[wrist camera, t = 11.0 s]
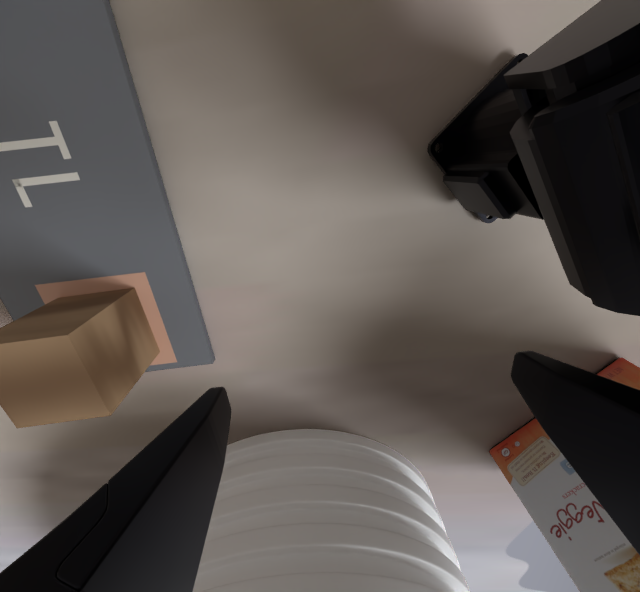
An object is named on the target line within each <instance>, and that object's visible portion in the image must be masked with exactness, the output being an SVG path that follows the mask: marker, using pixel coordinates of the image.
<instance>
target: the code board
mask: <svg viewBox="0 0 640 592" xmlns="http://www.w3.org/2000/svg"><path fill="white" fill-rule="evenodd" d="M128 288H135V290H136V292H137V295H138V297H139V300H140V302H141V305H142V307H143V310H144V312H145V315H146V317H147V320H148V322H149V325H150V327H151V330H152V332H153V335H154V337H155V340H156V342H157V345H158V347H159V350H160V353H159V354H158V355H157V357H156V358H155V359H154V360H153V362H152V363H151V364H150V366H149V367H148V368H147V369H146V371H145V372H147V371H156V370H164V369H172V368H180V367H188V366H197V365H205V364H213V362H214V360H215V357H214V353H213V350H212V347H211V343H210V340H209V336H208V333H207V330H206V326H205V323H204V320H203V316H202V313H201V309H200V306H199V303H198V299H197V296H196V293H195V289H194V286H193V282H192V279H191V276H190V272H189V269H188V266H187V262H186V259H185V255H184V252H183V249H182V245H181V242H180V239H179V235H178V232H177V228H176V225H175V222H174V218H173V215H172V212H171V208H170V205H169V201H168V198H167V195H166V191H165V188H164V185H163V181H162V178H161V174H160V171H159V168H158V164H157V161H156V158H155V154H154V151H153V147H152V144H151V141H150V137H149V134H148V131H147V127H146V124H145V120H144V117H143V114H142V110H141V107H140V104H139V100H138V97H137V94H136V90H135V87H134V83H133V80H132V77H131V73H130V70H129V67H128V63H127V60H126V56H125V53H124V50H123V46H122V43H121V40H120V36H119V33H118V29H117V26H116V23H115V19H114V16H113V13H112V9H111V6H110V2H109V0H0V298H1V300H2V302H3V303H4V305H5V307H6V308H7V310H8V312H9V314H10V315H11V317H12V319H13V320H14V321H15V320H17V319H19V318H21V317H23V316H24V315H26V314H28V313H30V312H32V311H34V310H36V309H38V308H40V307H41V306H43V305H45V304H47V303H49V302H51V301H53V300H55V299H57V298H60V297H68V296H75V295H83V294H90V293H98V292H105V291H113V290H121V289H128Z"/></svg>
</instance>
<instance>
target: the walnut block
mask: <svg viewBox="0 0 640 592" xmlns="http://www.w3.org/2000/svg"><path fill="white" fill-rule="evenodd" d="M159 353H160V350H159V347H158V345H157V342H156V340H155V337H154V335H153V332H152V330H151V327H150V325H149V322H148V320H147V317H146V315H145V312H144V310H143V307H142V305H141V302H140V300H139V297H138V295H137V292H136V290H135V288H128V289H121V290H113V291H105V292H98V293H90V294H83V295H75V296H68V297H60V298H57V299H55V300H53V301H51V302H49V303H47V304H45V305H43V306H41V307H40V308H38V309H36V310H34V311H32V312H30V313H28V314H26V315H24V316H23V317H21V318H19V319H17V320H15V321H13V322H11V323H9V324H7V325H5V326H4V327H2V328H0V405H1V407H2V408H3V409H4V411H5V412H6V414H7V415H8V416H9V418H10V419H11V421H12V422H13V423H14V425H15V426H16V428H22V427H30V426H37V425H45V424H52V423H59V422H67V421H74V420H82V419H89V418H96V417H104V416H111V415H112V413H113V412H114V411H115V409H116V408H117V407H118V406H119V404H120V403H121V402H122V400H123V399H124V398H125V397H126V395H127V394H128V393H129V391H130V390H131V389H132V388H133V386H134V385H135V384H136V382H137V381H138V380H139V378H140V377H141V376H142V375H143V373H144V372H145V371H146V369H147V368H148V367H149V366H150V364H151V363H152V362H153V360H154V359H155V358H156V357H157V355H158V354H159Z"/></svg>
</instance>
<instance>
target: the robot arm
mask: <svg viewBox="0 0 640 592" xmlns="http://www.w3.org/2000/svg"><path fill="white" fill-rule="evenodd" d="M517 62H519V63H518V64H517ZM516 64H517V65H516ZM437 143H438V144H439V145H440V150H439V152H436V151H435V145H436V144H437ZM428 153H429V155H430V156H431V158H432V159H433V160H434V162H435V163H436V164H437V165H438V167H439V168H440V169H441V171H442V172H443V173H444V174H445V175H444V177H443V182H444V183H445V184H446V186H447V187H448V188H449V189H450V191H451V192H452V193H453V194H454V196H455V197H456V198H457V199H458V201H459V202H460V203H461V205H462V206H463V207H464V208H465V209H466V210H469V211H473V212H474V213H475V214H476V215H477V217H478V218H479V219H480V220H481V221H482V222H485V223H492V222H493V221H495V220H496V219H497V218H502V219H510V218H511V217H512V216H514V215H515V214H519V215H524V216H529V217H533V218H538V219H544V221H545V223H546V226H547V228H548V231H549V233H550V236H551V238H552V241H553V243H554V246H555V248H556V251H557V253H558V256H559V259H560V261H561V264H562V266H563V269H564V271H565V274H566V276H567V278H568V281H569V283H570V285H572V286H573V287H574V288H576V289H577V290H578V291H580V292H581V293H582V294H584V295H585V296H587V297H589V298H591V300H592V302H593V304H594V305H595V306H598V307H601V308H604V309H607V310H611V311H614V312H617V313H623V314H630V315H637V316H640V0H601V1H600V2H598V3H597V4H596V5H595V6H593V7H592V8H591V9H589V10H588V11H587V12H585V13H584V14H583V15H581V16H580V17H579V18H578V19H576V20H575V21H574V22H572V23H571V24H570V25H568V26H567V27H566V28H564V29H563V30H562V31H560V32H559V33H558V34H557V35H555V36H554V37H553V38H551V39H550V40H549V41H547V42H546V43H545V44H543V45H542V46H541V47H539V48H538V49H537V50H536V51H534V52H533V53H532V54H530V55H529V56H528V55H527V54H524V53H522V54H519V55H517V56H515V57H514V58H512V59H511V60H510V61H509V62H508V63H507V64H506V65H505V66H504V67H503V68H502V69H501V70H500V71H499V72H498V73H497V74H496V75H495V76H494V77H493V78H492V79H491V80H490V82H489V83H488V84H487V85H486V86H485V87H484V88H483V89H482V90H481V91H480V92H479V93H478V94H477V95H476V96H475V97H474V98H473V99H472V100H471V101H470V102H469V103H468V104H467V105H466V106H465V107H464V108H463V109H462V110H461V111H460V112H459V113H458V114H457V115H456V116H455V117H454V118H453V119H452V120H451V121H450V123H449V124H448V125H447V126H446V127H445V128H444V129H443V130H442V131H441V132H440V133H439V134H438V135H437V136H436V137H435V138H434V139H433V140H432V141H431V142H430V144H429V146H428ZM486 215H490V216H489V217H488V218H486ZM511 378H512V381H513V383H514V384H515V386H516V387H517V389H518V391H519V392H520V394H521V395H522V397H523V399H524V400H525V402H526V403H527V405H528V407H529V408H530V410H531V411H532V413H533V415H534V416H535V418H536V419H537V421H538V422H539V424H540V425H541V427H542V428H543V430H544V431H545V432H546V434H547V435H548V436H549V438H550V439H551V440H552V441H553V443H554V444H555V445H556V447H557V448H558V449H559V451H560V452H561V453H562V455H563V456H564V457H565V459H566V460H567V461H568V462H569V464H570V465H571V466H572V468H573V469H574V470H575V472H576V473H577V474H578V476H579V477H580V478H581V479H582V481H583V482H584V483H585V485H586V486H587V487H588V489H589V490H590V491H591V493H592V494H593V495H594V496H595V498H596V499H597V500H598V502H599V503H600V504H601V506H602V507H603V508H604V510H605V511H606V512H607V513H608V515H609V516H610V517H611V519H612V520H613V521H614V523H615V524H616V525H617V527H618V528H619V529H620V530H621V532H622V533H623V534H624V536H625V537H626V538H627V540H628V541H629V542H630V544H631V545H632V546H633V547H634V549H635V550H636V551H637V553H638V554H639V555H640V390H638V389H635V388H632V387H630V386H627V385H624V384H621V383H619V382H616V381H613V380H610V379H608V378H605V377H602V376H599V375H597V374H594V373H591V372H588V371H586V370H583V369H580V368H577V367H575V366H572V365H569V364H566V363H564V362H561V361H558V360H555V359H553V358H550V357H547V356H544V355H541V354H539V353H536V352H533V351H523V352H518V353H516V354H515V356H514V361H513V366H512V371H511ZM230 419H231V406H230V403H229V399H228V396H227V392H226V390H225V388H224V387H216V388H210V389H209V390H208V391H207V392H206V393H204V394H203V395H202V396H201V397H200V398H199V399H198V400H197V401H196V402H195V403H193V404H192V405H191V406H190V407H189V408H188V409H187V410H186V411H185V412H184V413H182V414H181V415H180V416H179V417H178V418H177V419H176V420H175V421H174V422H173V423H171V424H170V425H169V426H168V427H167V428H166V429H165V430H164V431H163V432H162V433H161V434H159V435H158V436H157V437H156V438H155V439H154V440H153V441H152V442H151V443H150V444H148V445H147V446H146V447H145V448H144V449H143V450H142V451H141V452H140V453H139V454H137V455H136V456H135V457H134V458H133V459H132V460H131V461H130V462H129V463H128V464H126V465H125V466H124V467H123V468H122V469H121V470H120V471H119V472H118V473H117V474H115V475H114V476H113V477H112V478H111V479H110V480H109V481H108V484H107V483H106V484H104V485H103V486H102V487H101V488H100V489H99V490H98V491H97V492H96V493H94V494H93V495H92V496H91V497H90V498H89V499H88V500H87V501H86V502H84V503H83V504H82V505H81V506H80V507H79V508H78V509H76V510H75V511H74V512H73V513H72V514H71V515H70V516H69V517H67V518H66V519H65V520H64V521H63V522H61V523H60V524H59V525H58V526H57V527H56V528H54V529H53V530H52V531H51V532H50V533H48V534H47V535H46V536H45V537H44V538H42V539H41V540H40V541H39V542H38V543H36V544H35V545H34V546H33V547H31V548H30V549H29V550H28V551H27V552H25V553H24V554H23V555H22V556H20V557H19V558H18V559H17V560H16V561H14V562H13V563H12V564H11V565H9V566H8V567H7V568H6V569H5V570H3V571H2V572H1V573H0V592H193V588H194V584H195V580H196V576H197V572H198V568H199V564H200V560H201V556H202V552H203V548H204V544H205V540H206V536H207V532H208V528H209V524H210V520H211V516H212V512H213V508H214V504H215V500H216V496H217V492H218V488H219V484H220V480H221V476H222V472H223V467H224V462H225V456H226V449H227V441H228V434H229V427H230Z"/></svg>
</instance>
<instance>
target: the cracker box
mask: <svg viewBox="0 0 640 592" xmlns="http://www.w3.org/2000/svg"><path fill="white" fill-rule="evenodd" d="M597 375H599V376H602V377H605V378H608V379H610V380H613V381H616V382H619V383H621V384H624V385H627V386H630V387H632V388H635V389H638V390H640V368H639V367H637V366H635V365H634V364H632V363H630V362H629V361H627V360H625V359H624V358H618V359H617V360H616V361H614V362H613V363H612V364H610V365H609V366H608V367H606V368H605V369H603V370H602V371H601V372H599V373H598V374H597ZM489 452H490V454H491V455H492V457H493V459H494V460H495V462H496V463H497V465H498V466H499V468H500V469H501V471H502V473H503V474H504V476H505V478H506V479H507V481H508V482H509V484H510V485H511V487H512V488H513V490H514V491H515V493H516V494H517V496H518V497H519V499H520V500H521V502H522V503H523V505H524V506H525V508H526V509H527V511H528V513H529V514H530V516H531V517H532V519H533V520H534V522H535V523H536V525H537V526H538V528H539V529H540V531H541V532H542V534H543V535H544V537H545V539H546V540H547V542H548V543H549V545H550V546H551V548H552V549H553V551H554V553H555V554H556V556H557V557H558V559H559V560H560V562H561V563H562V565H563V567H564V568H565V570H566V571H567V573H568V574H569V576H570V577H571V579H572V580H573V582H574V583H575V585H576V586H577V588H578V590H579V591H580V592H640V555H639V554H638V553H637V551H636V550H635V549H634V547H633V546H632V545H631V544H630V542H629V541H628V540H627V538H626V537H625V536H624V534H623V533H622V532H621V530H620V529H619V528H618V527H617V525H616V524H615V523H614V521H613V520H612V519H611V517H610V516H609V515H608V513H607V512H606V511H605V510H604V508H603V507H602V506H601V504H600V503H599V502H598V500H597V499H596V498H595V496H594V495H593V494H592V493H591V491H590V490H589V489H588V487H587V486H586V485H585V483H584V482H583V481H582V479H581V478H580V477H579V476H578V474H577V473H576V472H575V470H574V469H573V468H572V466H571V465H570V464H569V462H568V461H567V460H566V459H565V457H564V456H563V455H562V453H561V452H560V451H559V449H558V448H557V447H556V445H555V444H554V443H553V441H552V440H551V439H550V438H549V436H548V435H547V434H546V432H545V431H544V430H543V428H542V427H541V425H540V424H539V422H538V421H537V419H536V418H535V419H533V420H532V421H530V422H529V423H528V424H526V425H525V426H523V427H522V428H521V429H519V430H518V431H516V432H515V433H514V434H512V435H511V436H509V437H508V438H506V439H505V440H504V441H502V442H501V443H499V444H498V445H497V446H495V447H494V448H492V449H491V450H490V451H489Z"/></svg>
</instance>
